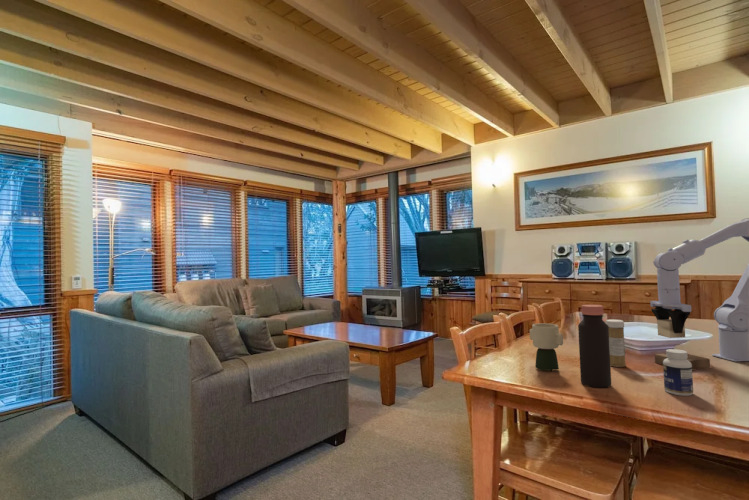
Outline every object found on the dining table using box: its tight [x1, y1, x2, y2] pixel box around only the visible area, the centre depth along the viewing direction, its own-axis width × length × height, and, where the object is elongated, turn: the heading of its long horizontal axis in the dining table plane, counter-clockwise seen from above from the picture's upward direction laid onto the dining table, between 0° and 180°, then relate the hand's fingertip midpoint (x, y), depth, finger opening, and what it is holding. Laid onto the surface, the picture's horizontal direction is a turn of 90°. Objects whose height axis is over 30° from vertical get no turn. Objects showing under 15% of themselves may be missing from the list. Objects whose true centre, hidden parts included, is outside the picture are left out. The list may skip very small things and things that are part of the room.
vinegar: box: [577, 304, 612, 389], centre depth 100 cm, size 7×7×20 cm
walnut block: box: [654, 352, 711, 371], centre depth 114 cm, size 9×9×3 cm
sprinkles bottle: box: [605, 318, 627, 368], centre depth 116 cm, size 5×5×14 cm
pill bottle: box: [662, 348, 694, 397], centre depth 92 cm, size 5×5×10 cm
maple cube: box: [656, 318, 686, 339], centre depth 125 cm, size 5×5×5 cm
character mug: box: [529, 322, 564, 372], centre depth 113 cm, size 11×7×13 cm, turn 29°
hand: (671, 331), depth 125 cm, fingers closed on maple cube, 5 cm apart
